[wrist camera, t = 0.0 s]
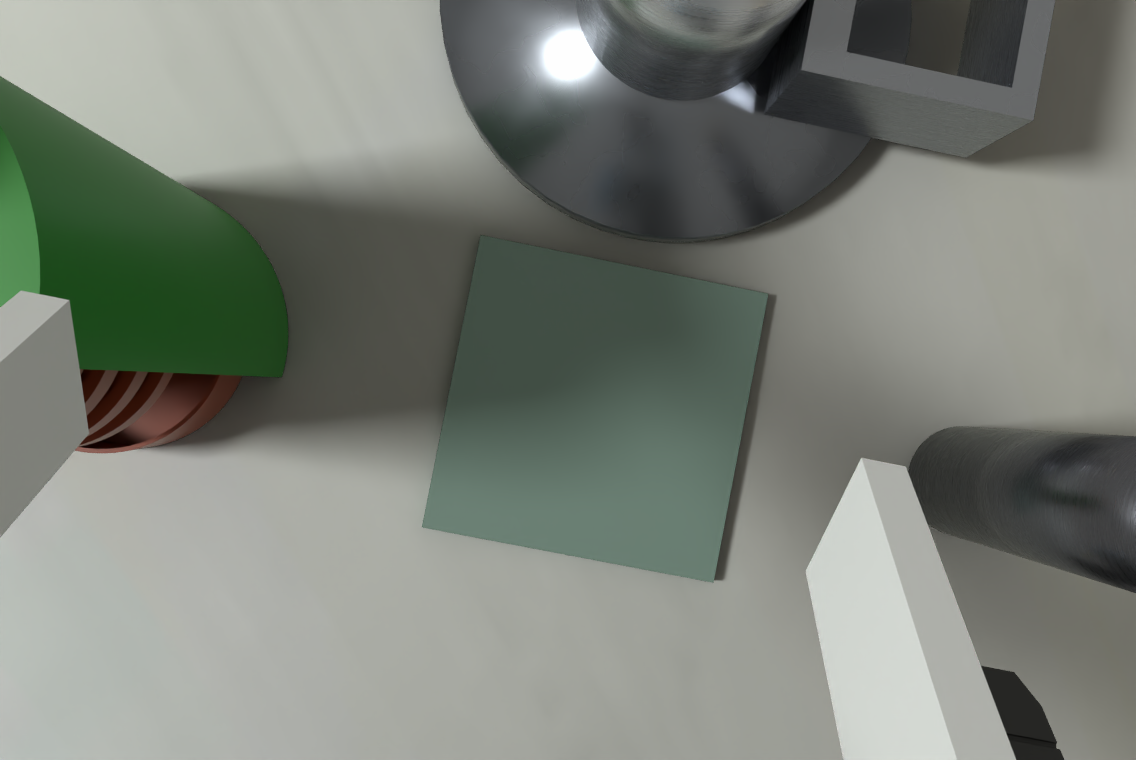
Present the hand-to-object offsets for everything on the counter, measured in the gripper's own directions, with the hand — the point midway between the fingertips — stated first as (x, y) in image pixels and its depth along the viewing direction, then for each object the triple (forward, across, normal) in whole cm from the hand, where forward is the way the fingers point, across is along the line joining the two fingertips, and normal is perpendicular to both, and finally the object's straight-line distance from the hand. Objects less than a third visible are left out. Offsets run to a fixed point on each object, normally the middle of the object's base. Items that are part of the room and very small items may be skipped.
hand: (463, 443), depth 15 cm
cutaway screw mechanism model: (+13, +13, +8) cm, 20 cm away
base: (+21, -3, -3) cm, 22 cm away
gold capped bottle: (+13, -16, +8) cm, 22 cm away
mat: (+13, -3, +8) cm, 16 cm away
